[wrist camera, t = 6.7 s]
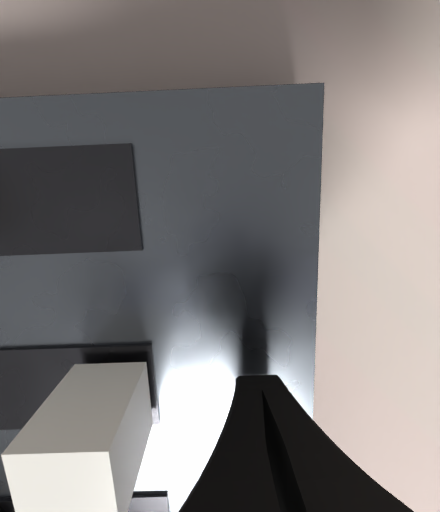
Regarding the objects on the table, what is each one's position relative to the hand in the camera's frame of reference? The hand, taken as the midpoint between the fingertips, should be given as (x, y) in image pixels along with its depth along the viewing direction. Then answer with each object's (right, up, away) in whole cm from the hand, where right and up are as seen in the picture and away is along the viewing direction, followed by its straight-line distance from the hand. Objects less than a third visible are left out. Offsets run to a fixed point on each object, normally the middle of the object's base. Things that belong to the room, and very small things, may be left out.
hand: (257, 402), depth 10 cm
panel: (-7, +1, +4) cm, 8 cm away
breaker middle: (-5, 0, +1) cm, 5 cm away
